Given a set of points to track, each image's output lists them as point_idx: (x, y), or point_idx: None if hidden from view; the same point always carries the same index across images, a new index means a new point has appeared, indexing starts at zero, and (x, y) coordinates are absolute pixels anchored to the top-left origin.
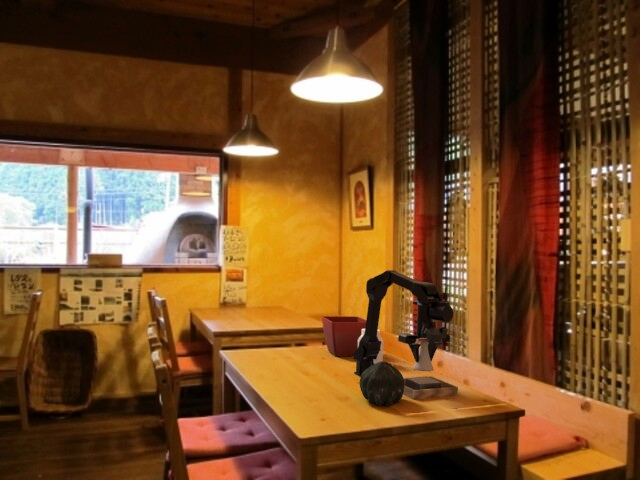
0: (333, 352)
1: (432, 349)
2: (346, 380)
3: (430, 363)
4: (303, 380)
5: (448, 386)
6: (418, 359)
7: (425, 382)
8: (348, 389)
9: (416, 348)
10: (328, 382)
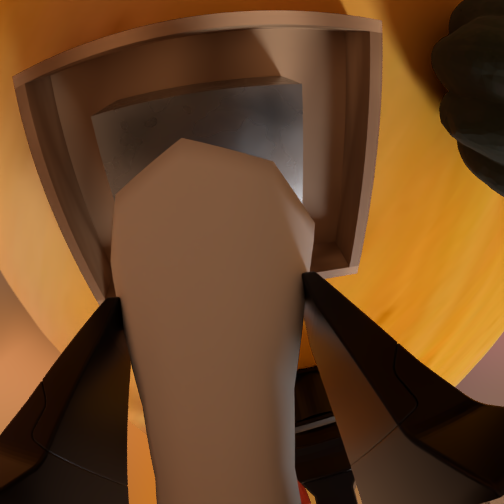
0: None
1: (70, 436)
2: (395, 334)
3: (140, 235)
4: (467, 324)
5: (47, 143)
6: (315, 292)
7: (225, 120)
8: (459, 254)
9: (458, 409)
10: (445, 315)
